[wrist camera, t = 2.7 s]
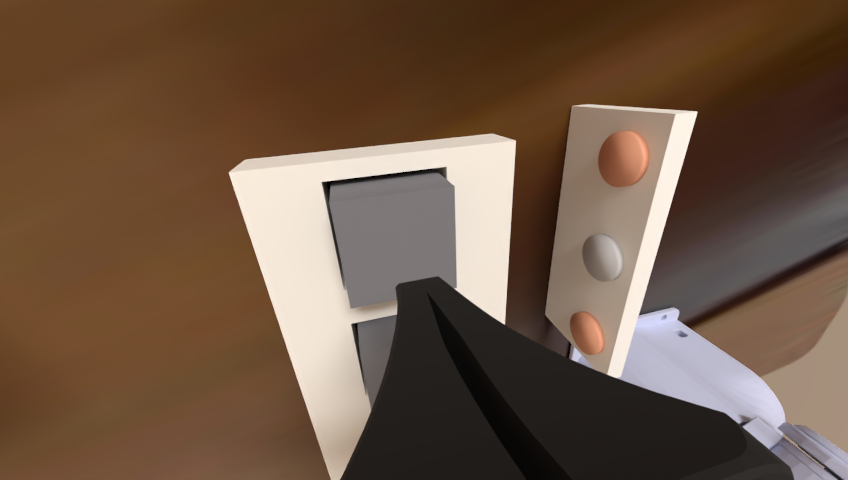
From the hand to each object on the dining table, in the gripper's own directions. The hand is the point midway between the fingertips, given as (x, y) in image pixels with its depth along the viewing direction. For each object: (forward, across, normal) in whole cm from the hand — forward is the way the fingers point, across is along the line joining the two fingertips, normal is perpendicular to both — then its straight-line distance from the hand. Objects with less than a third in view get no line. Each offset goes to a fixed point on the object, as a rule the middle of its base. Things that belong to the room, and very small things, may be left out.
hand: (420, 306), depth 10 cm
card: (+8, -11, +2) cm, 14 cm away
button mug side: (+7, 0, 0) cm, 7 cm away
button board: (+8, 0, +8) cm, 11 cm away
